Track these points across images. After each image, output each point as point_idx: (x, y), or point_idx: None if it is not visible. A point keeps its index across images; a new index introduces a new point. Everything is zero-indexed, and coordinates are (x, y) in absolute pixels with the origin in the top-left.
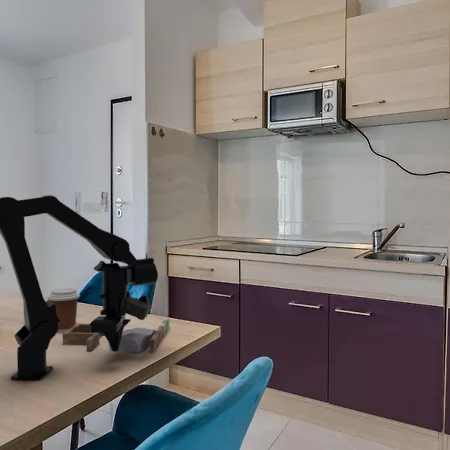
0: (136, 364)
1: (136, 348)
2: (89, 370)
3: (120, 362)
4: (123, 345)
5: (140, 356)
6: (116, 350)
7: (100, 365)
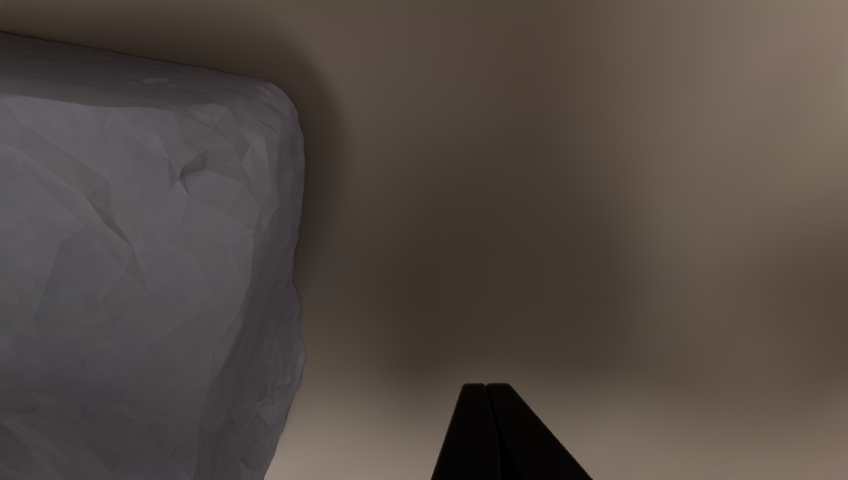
0: (783, 18)
1: (292, 162)
2: (810, 452)
3: (657, 253)
4: (259, 370)
5: (450, 40)
6: (513, 397)
7: (705, 410)
